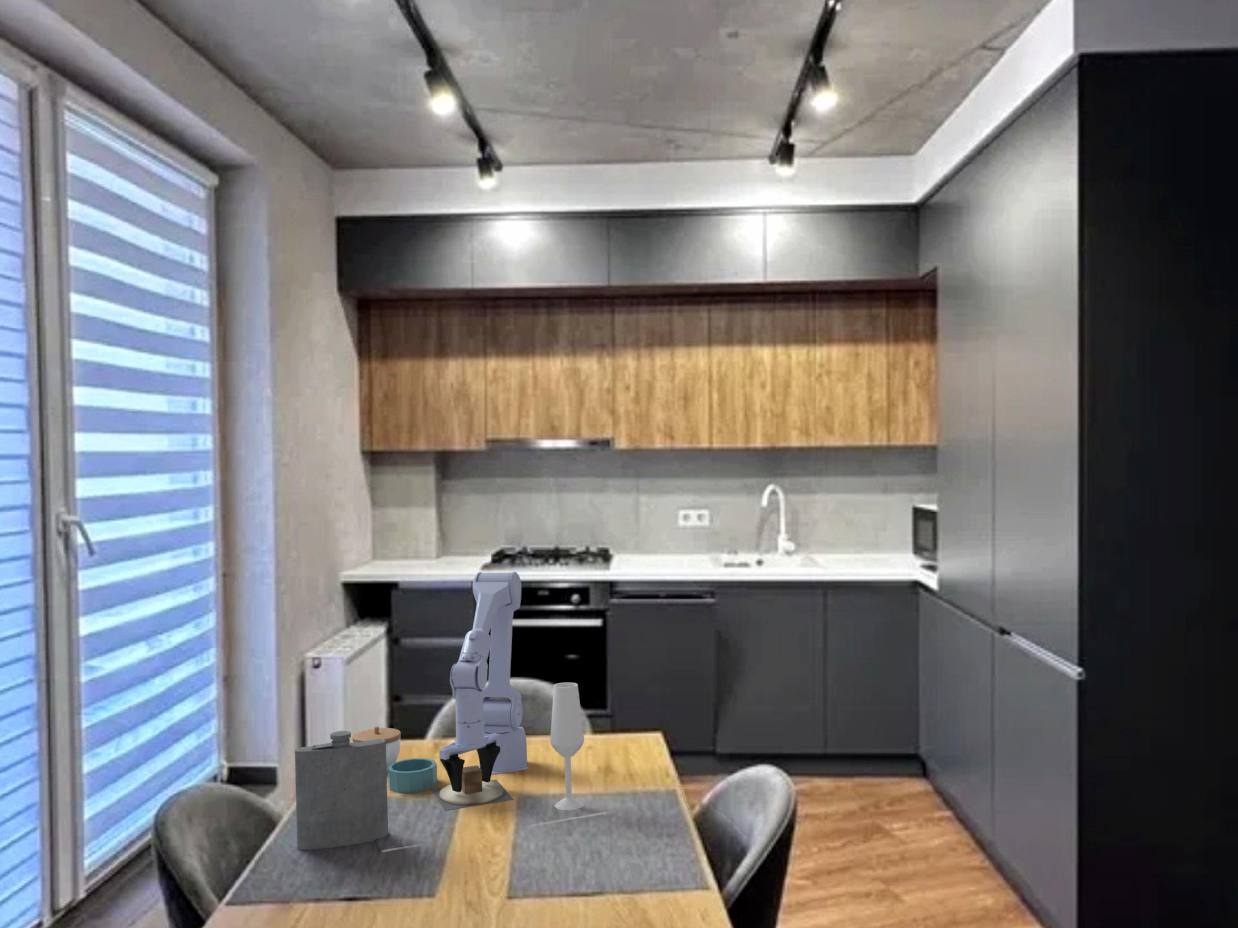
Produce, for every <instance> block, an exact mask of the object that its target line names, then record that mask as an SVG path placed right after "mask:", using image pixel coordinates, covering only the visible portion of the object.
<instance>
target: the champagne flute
mask: <svg viewBox="0 0 1238 928" xmlns="http://www.w3.org/2000/svg"><path fill="white" fill-rule="evenodd" d="M552 693H553V694H552V708H551V709H552V710H551V721H550V723H551V725H550V737H549V738H550V740H549V741H550V745H551V747H552V748H553V749H554V751H555V752H556V753H558V754H559V755H560V757H562V758H564V776H565V777H564V778H565V781H564V783H565V797H564V798H562V799H560V800H559V801H557V802H556V803H555V804H554V808H555V809H558V810H561V811H573V810H578V809H580V808H582V807H583V806H584V803H583V802H582V801H580V800H579V799H577V798H575V797H573V796H572V795H573V793H572V789H573V788H572V760H571V759H572V757H574V756H575V755H576V754H577V753H578V752H579V751H580V750H581V748H582V747H583V746H584V742H585V736H584V728H583V727H584V726H583V717H582V711H581V703H580V702H581V701H580V692H579V685H578V683H576V682H559V683H555V684H553V692H552Z"/></svg>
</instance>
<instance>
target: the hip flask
mask: <svg viewBox="0 0 1238 928" xmlns="http://www.w3.org/2000/svg"><path fill="white" fill-rule="evenodd" d="M329 734H330V736H329V737H330V740H331V742H328V743H321V744H315V745H314V744H313V745H312V746H311V745H310V746H302V747H298V748H295V749H294V761H295V762H294V764H295V765H294V766H295V769H294V771H295V808H296V813H295V814H296V846H297V849H298V850H300V851H308V850H319V849H320V850H321V849H322V848H323V849H331V848H332V849H333V848H339V847H340V846H341V847H347V846H354V845H360V844H366V843H372V842H377V839H382V838H385V837H387V836H388V835H389V817H388V816H389V812H388V811H389V810H388V807H389V806H388V770H387V767H386V740H384V739H376V740H369V741H362V742H354V743H353V742H351V741H350V740H351V739H350V738H352V732H351V731H350V730H337V731H334V732H331V733H329Z"/></svg>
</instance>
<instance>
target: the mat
mask: <svg viewBox="0 0 1238 928" xmlns="http://www.w3.org/2000/svg"><path fill="white" fill-rule="evenodd" d="M490 781H493V782H497V783H499V784H501V783H500V782H499V780H497V779H490ZM444 787H445V786H444ZM444 787H438V788H430V789H431V792H432V793H433V795H434V796H435V798H436V800H437V801H438V803H439V804H440V806H441V807H442V809H443V810H444V811H445V812H446V811H451V810H459V809H464V808H469V807H470V808H471V807H476V806H483V805H489V804H495V803H501V802H508V801H514V799H515V798H513V796H512V795H511V794H510V793H509V792H508V791H507V789H506V788H505V787H503V795H502V796H501V797H499V798H498V799H495V800H493V801H490V802H486V803H482V804H475V805H454V804H449V803H445V802H443V801H442V800H441V799H440V791H441V790H442V789H443V788H444Z"/></svg>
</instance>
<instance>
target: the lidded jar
mask: <svg viewBox="0 0 1238 928" xmlns="http://www.w3.org/2000/svg"><path fill="white" fill-rule="evenodd" d="M401 737H402V731H400V730H399V729H397V728H391V727H379V726H378V725H377V726H374V727H373V728H369V729H365V730H361V731H359V732H356V733H354V734H353V735H352V743H354V742H362V741H369V740H376V739H384V740H386V767H388V766H389V765H390V764H392V763H394V762H397V761H398V760H397V759H398V757H399V755H400V751H401ZM387 771H388V768H387Z"/></svg>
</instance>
